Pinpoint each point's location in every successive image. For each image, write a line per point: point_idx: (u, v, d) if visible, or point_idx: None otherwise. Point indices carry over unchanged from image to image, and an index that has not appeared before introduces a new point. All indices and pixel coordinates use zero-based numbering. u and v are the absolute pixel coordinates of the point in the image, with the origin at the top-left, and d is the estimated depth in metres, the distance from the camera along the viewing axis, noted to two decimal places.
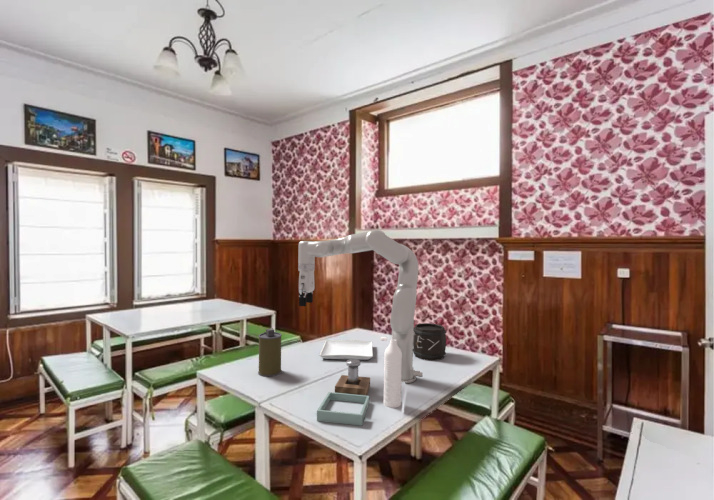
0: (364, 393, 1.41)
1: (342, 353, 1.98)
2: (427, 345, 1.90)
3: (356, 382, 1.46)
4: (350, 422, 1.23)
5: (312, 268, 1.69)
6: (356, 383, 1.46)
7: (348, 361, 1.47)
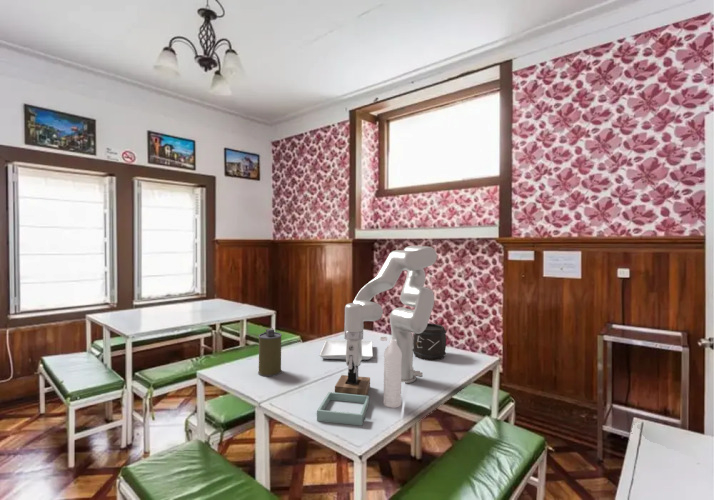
0: (364, 393, 1.41)
1: (342, 353, 1.98)
2: (427, 345, 1.90)
3: (356, 382, 1.46)
4: (350, 422, 1.23)
5: (361, 336, 1.45)
6: (356, 383, 1.46)
7: None
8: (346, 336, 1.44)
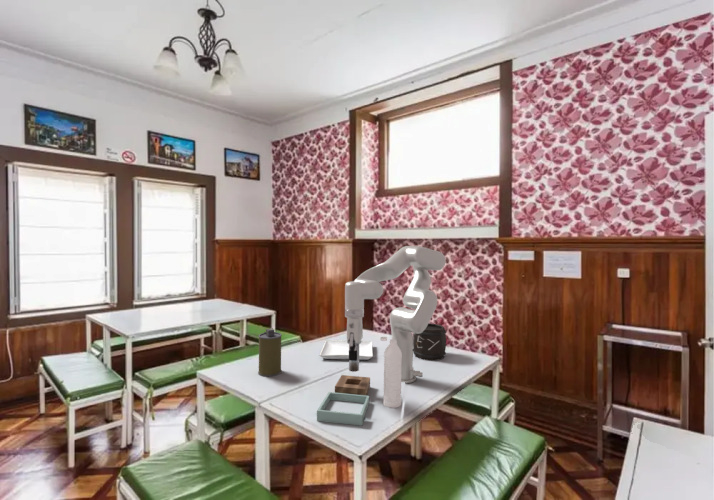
0: (364, 393, 1.41)
1: (342, 353, 1.98)
2: (427, 344, 1.90)
3: (357, 360, 1.46)
4: (350, 422, 1.23)
5: (362, 314, 1.44)
6: (357, 361, 1.46)
7: None
8: (347, 314, 1.44)
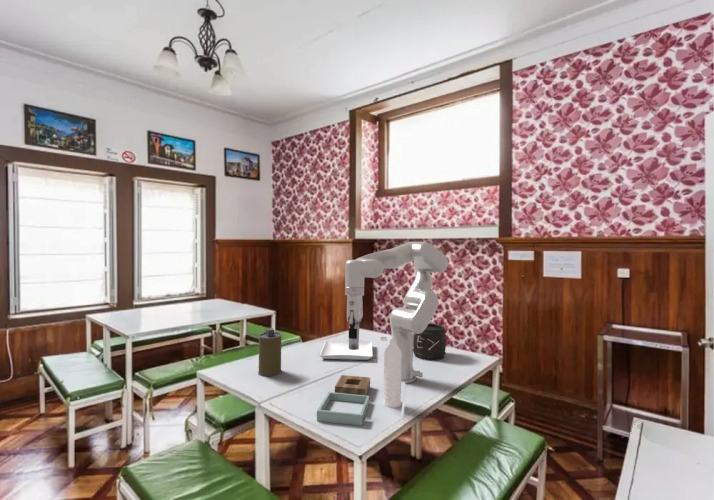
0: (364, 393, 1.41)
1: (342, 353, 1.98)
2: (427, 344, 1.90)
3: (357, 338, 1.45)
4: (350, 422, 1.23)
5: (362, 292, 1.44)
6: (357, 339, 1.45)
7: None
8: (347, 292, 1.44)
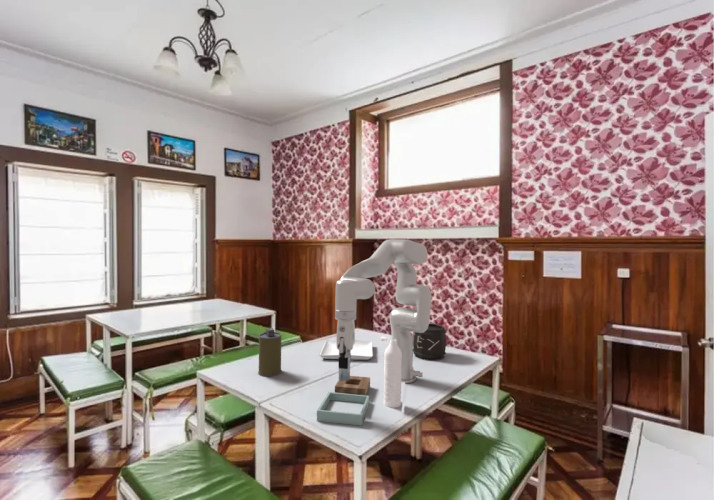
0: (364, 393, 1.41)
1: None
2: (427, 345, 1.90)
3: (348, 368, 1.30)
4: (350, 422, 1.23)
5: (354, 316, 1.29)
6: (348, 369, 1.30)
7: None
8: (337, 316, 1.28)
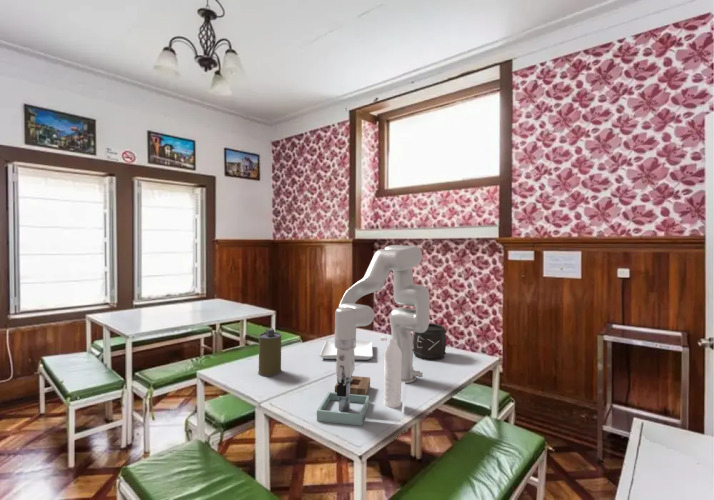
0: (364, 393, 1.41)
1: None
2: (427, 344, 1.90)
3: (348, 400, 1.30)
4: (350, 422, 1.23)
5: (353, 344, 1.29)
6: (348, 401, 1.30)
7: None
8: (336, 344, 1.29)
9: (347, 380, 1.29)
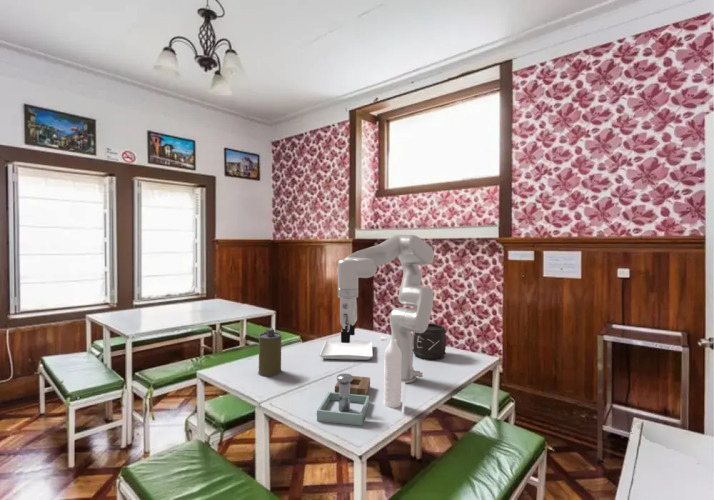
0: (364, 393, 1.41)
1: (342, 353, 1.98)
2: (427, 345, 1.90)
3: (348, 400, 1.30)
4: (350, 422, 1.23)
5: (356, 294, 1.34)
6: (348, 401, 1.30)
7: (339, 376, 1.31)
8: (340, 294, 1.33)
9: (347, 380, 1.29)
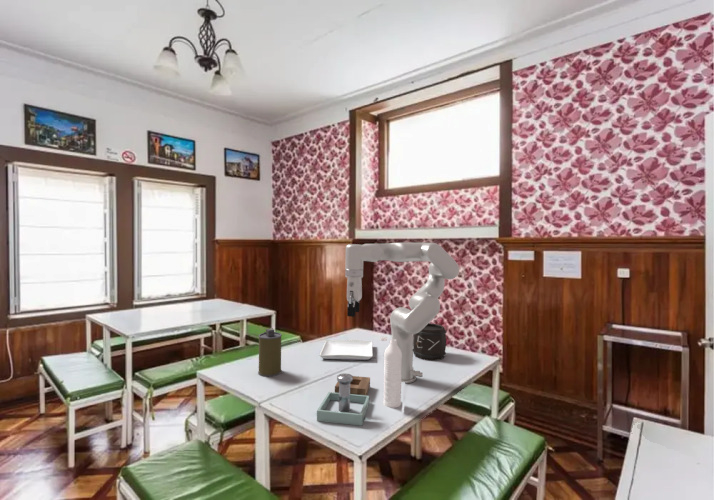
0: (364, 393, 1.41)
1: (342, 353, 1.98)
2: (427, 345, 1.90)
3: (348, 400, 1.30)
4: (350, 422, 1.23)
5: (361, 274, 1.53)
6: (348, 401, 1.30)
7: (339, 376, 1.31)
8: (347, 274, 1.53)
9: (347, 380, 1.29)
